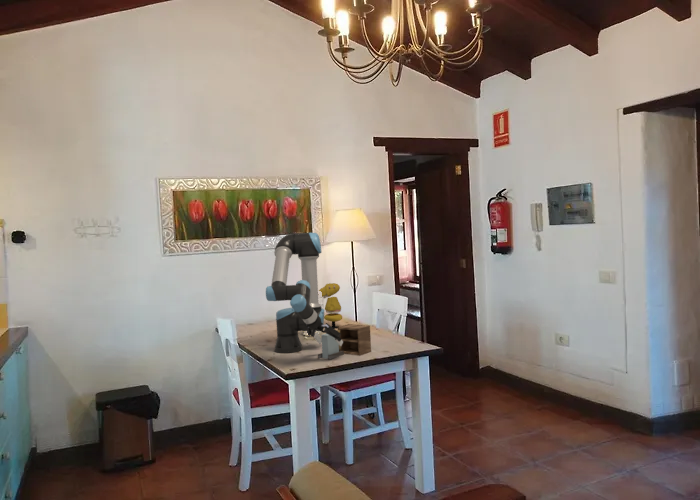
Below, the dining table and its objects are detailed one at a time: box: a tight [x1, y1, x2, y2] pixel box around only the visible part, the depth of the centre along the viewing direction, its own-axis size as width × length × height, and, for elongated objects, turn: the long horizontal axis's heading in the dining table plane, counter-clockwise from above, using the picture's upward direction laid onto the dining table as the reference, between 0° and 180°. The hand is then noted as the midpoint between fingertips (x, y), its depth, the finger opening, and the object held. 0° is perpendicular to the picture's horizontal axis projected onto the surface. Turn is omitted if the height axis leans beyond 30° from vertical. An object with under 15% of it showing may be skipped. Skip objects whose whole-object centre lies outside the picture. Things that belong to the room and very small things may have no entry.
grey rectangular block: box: [320, 333, 339, 360], centre depth 298 cm, size 4×9×12 cm, turn 144°
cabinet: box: [317, 323, 372, 360], centre depth 300 cm, size 17×24×14 cm
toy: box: [318, 282, 343, 330], centre depth 385 cm, size 16×12×30 cm
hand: (331, 343), depth 298 cm, fingers open, 13 cm apart
